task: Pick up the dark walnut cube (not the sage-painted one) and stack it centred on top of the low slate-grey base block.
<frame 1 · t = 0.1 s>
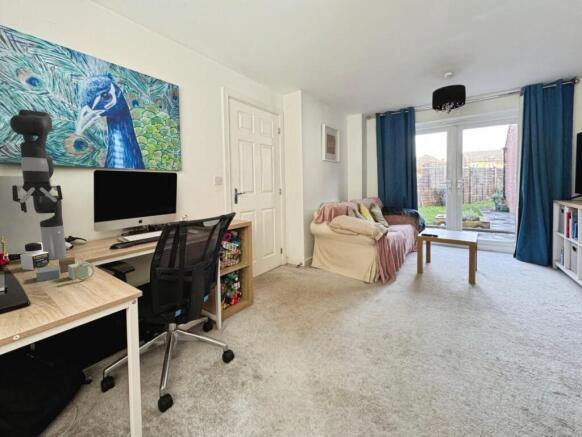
hand: (40, 211, 107), 29 cm above the table, fingers open, 8 cm apart
sage cube: (78, 277, 117), on the table
medicine bottle: (36, 268, 129), on the table
bracelet: (85, 280, 113), on the table
base block: (49, 278, 116), on the table
walnut cube: (68, 270, 126), on the table
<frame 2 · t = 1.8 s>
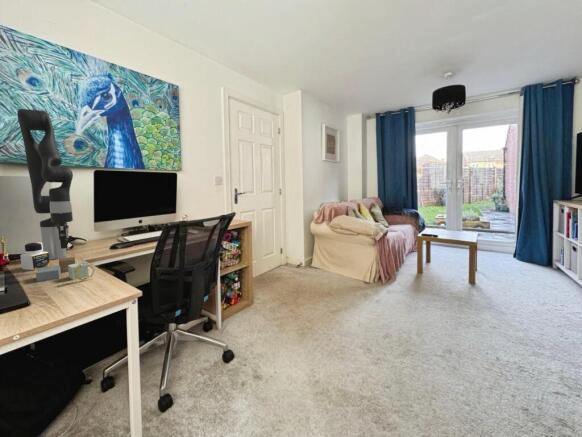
hand: (64, 246, 124), 11 cm above the table, fingers open, 8 cm apart
nothing on the table moved.
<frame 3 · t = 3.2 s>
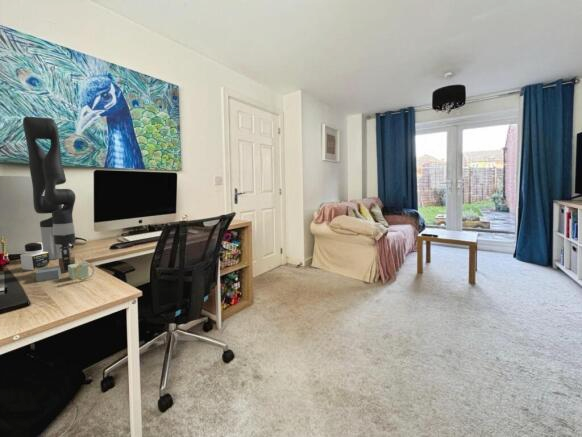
hand: (67, 268, 126), 1 cm above the table, fingers closed on walnut cube, 5 cm apart
walnut cube: (68, 270, 126), on the table, touching gripper
everything else where it was.
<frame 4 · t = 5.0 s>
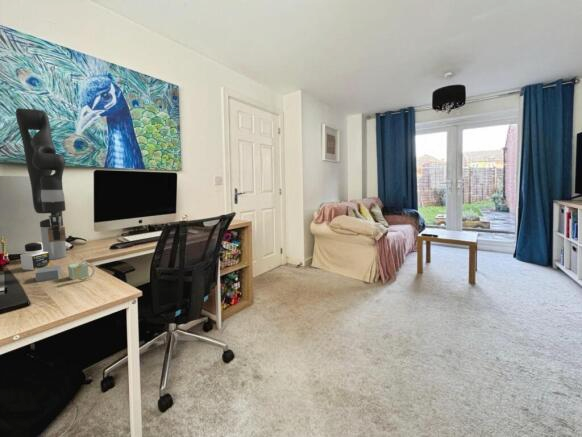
hand: (57, 238, 119), 16 cm above the table, fingers closed on walnut cube, 5 cm apart
walnut cube: (57, 240, 119), point 15 cm above the table, touching gripper
everything else where it was.
when the fingers open (6 cm above the table, at t = 6.9 s): walnut cube drops 1 cm, resting on base block.
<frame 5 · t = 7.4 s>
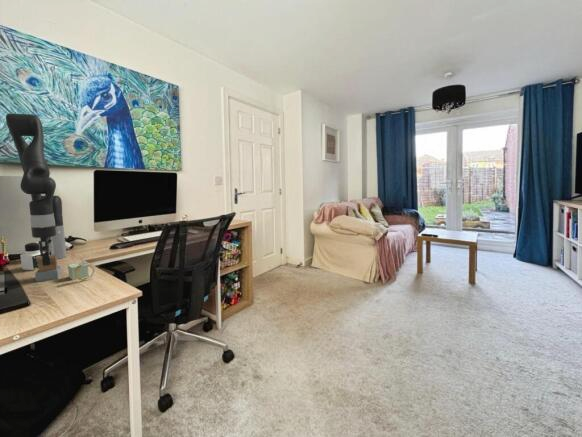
hand: (47, 262, 115), 7 cm above the table, fingers open, 8 cm apart
base block: (49, 278, 116), on the table, touching walnut cube
walnut cube: (48, 269, 115), point 4 cm above the table, touching base block
everything else where it was.
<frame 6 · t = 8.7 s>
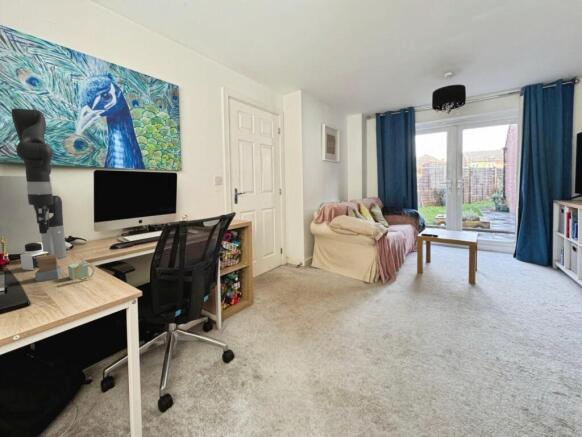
hand: (44, 231, 113), 20 cm above the table, fingers open, 8 cm apart
nothing on the table moved.
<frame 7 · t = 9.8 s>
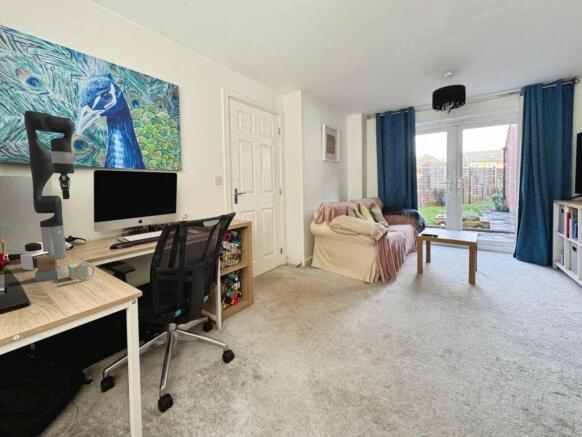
hand: (66, 198, 124), 33 cm above the table, fingers open, 8 cm apart
nothing on the table moved.
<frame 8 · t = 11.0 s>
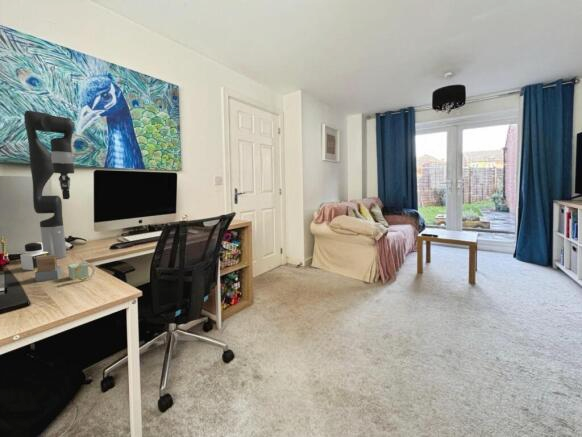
hand: (66, 198, 124), 33 cm above the table, fingers open, 8 cm apart
nothing on the table moved.
at the end: walnut cube 0.4 cm off-centre on the base block, point 4.0 cm above the base block's base; walnut cube tilted 0°; the gripper is holding nothing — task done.
